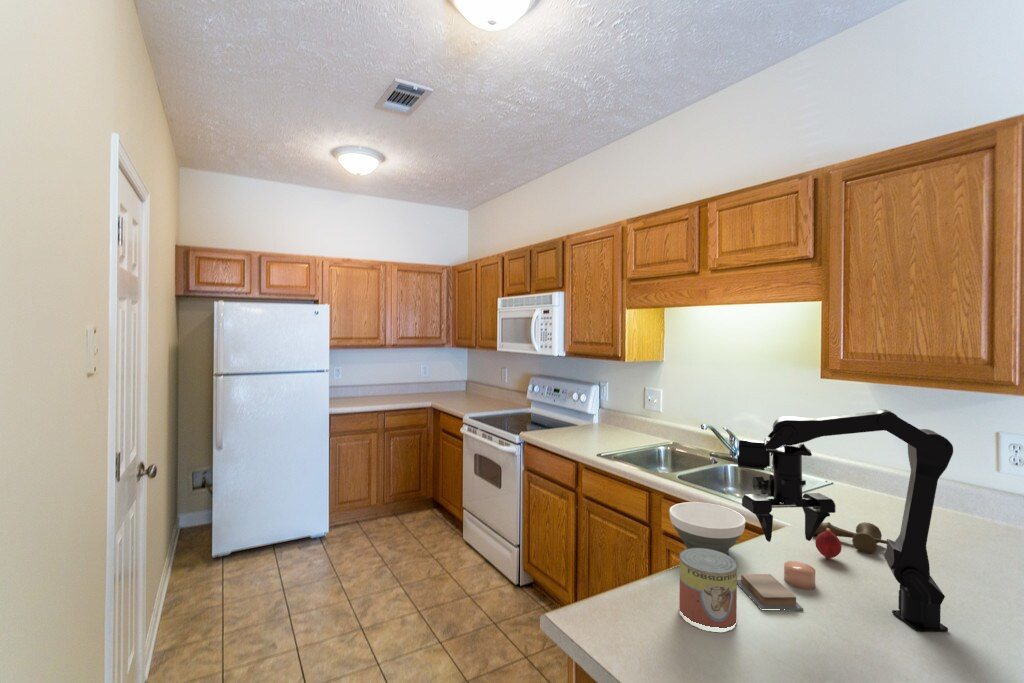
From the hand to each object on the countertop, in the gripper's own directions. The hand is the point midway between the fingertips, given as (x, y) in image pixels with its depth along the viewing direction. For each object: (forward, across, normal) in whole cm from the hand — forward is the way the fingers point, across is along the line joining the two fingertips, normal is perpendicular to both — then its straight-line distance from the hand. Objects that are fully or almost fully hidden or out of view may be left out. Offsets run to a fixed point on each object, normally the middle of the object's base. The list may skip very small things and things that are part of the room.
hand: (788, 540), depth 109 cm
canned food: (+12, +23, +9) cm, 27 cm away
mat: (+12, +6, +1) cm, 13 cm away
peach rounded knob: (+12, -6, -5) cm, 14 cm away
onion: (+12, -21, -17) cm, 29 cm away
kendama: (+13, -34, -26) cm, 44 cm away
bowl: (+12, +9, -23) cm, 28 cm away
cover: (+12, +5, +1) cm, 13 cm away
